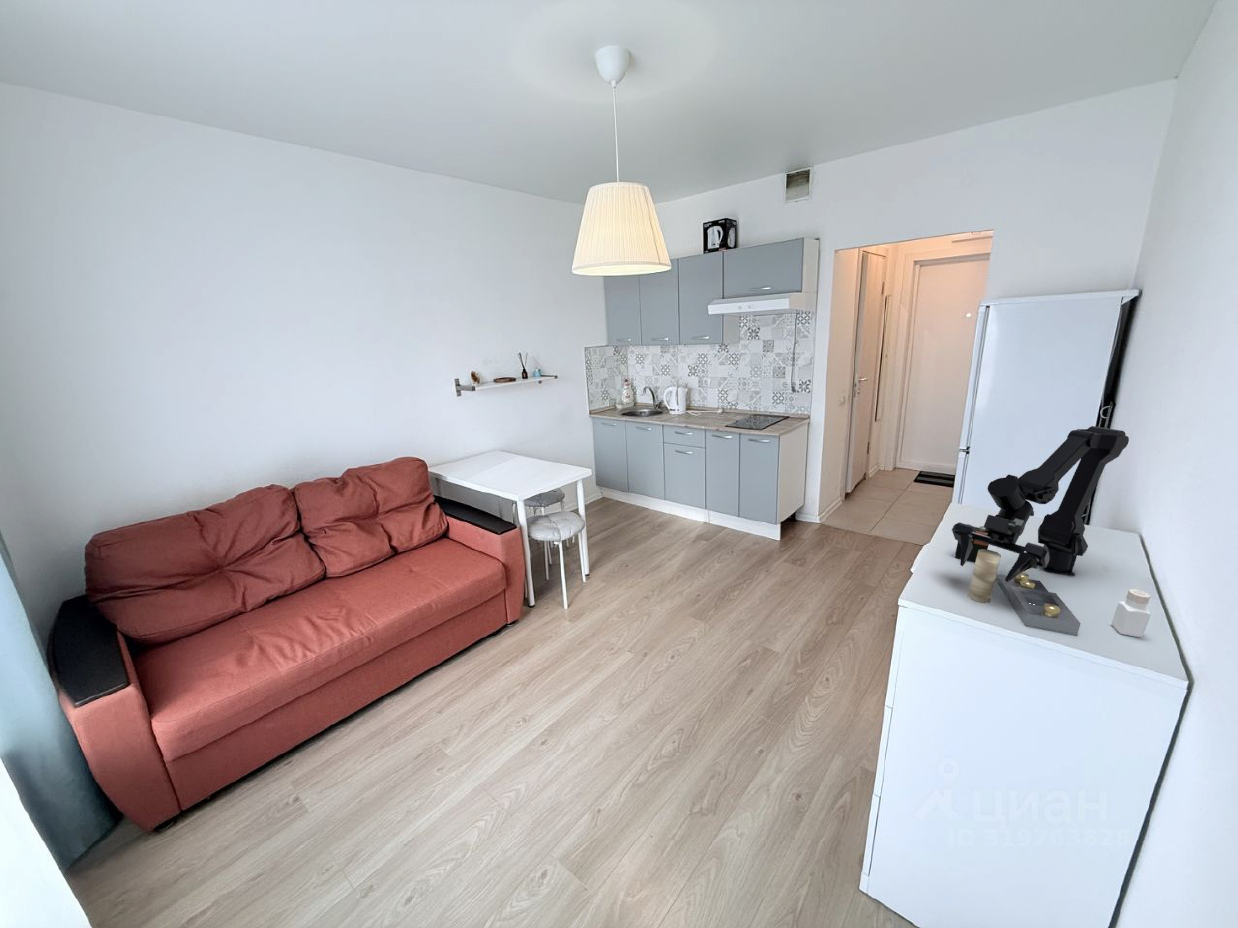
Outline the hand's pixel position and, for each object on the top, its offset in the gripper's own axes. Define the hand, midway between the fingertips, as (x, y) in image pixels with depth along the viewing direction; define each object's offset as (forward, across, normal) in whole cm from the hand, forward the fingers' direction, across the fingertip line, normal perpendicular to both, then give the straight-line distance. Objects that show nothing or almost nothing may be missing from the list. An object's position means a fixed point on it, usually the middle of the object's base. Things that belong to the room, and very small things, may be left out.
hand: (983, 572), depth 115 cm
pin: (+4, 0, +6) cm, 7 cm away
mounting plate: (-1, +9, +11) cm, 14 cm away
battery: (-11, -10, +21) cm, 26 cm away
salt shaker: (-3, +24, +13) cm, 28 cm away
